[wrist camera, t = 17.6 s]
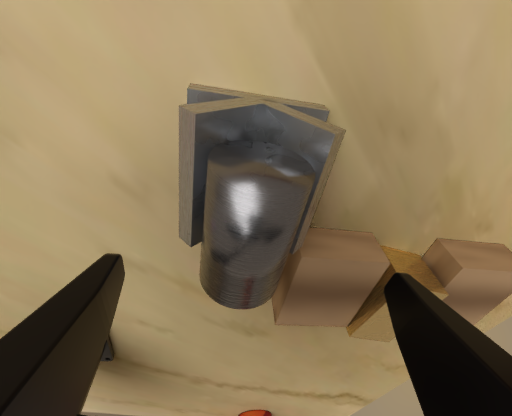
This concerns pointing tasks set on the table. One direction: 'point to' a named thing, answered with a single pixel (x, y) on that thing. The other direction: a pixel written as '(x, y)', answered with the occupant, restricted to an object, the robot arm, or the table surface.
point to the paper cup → (256, 413)
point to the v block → (248, 128)
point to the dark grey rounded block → (250, 219)
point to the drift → (375, 307)
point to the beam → (372, 268)
